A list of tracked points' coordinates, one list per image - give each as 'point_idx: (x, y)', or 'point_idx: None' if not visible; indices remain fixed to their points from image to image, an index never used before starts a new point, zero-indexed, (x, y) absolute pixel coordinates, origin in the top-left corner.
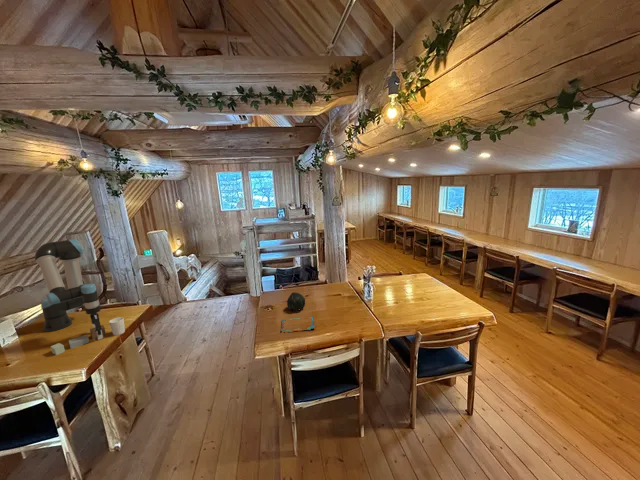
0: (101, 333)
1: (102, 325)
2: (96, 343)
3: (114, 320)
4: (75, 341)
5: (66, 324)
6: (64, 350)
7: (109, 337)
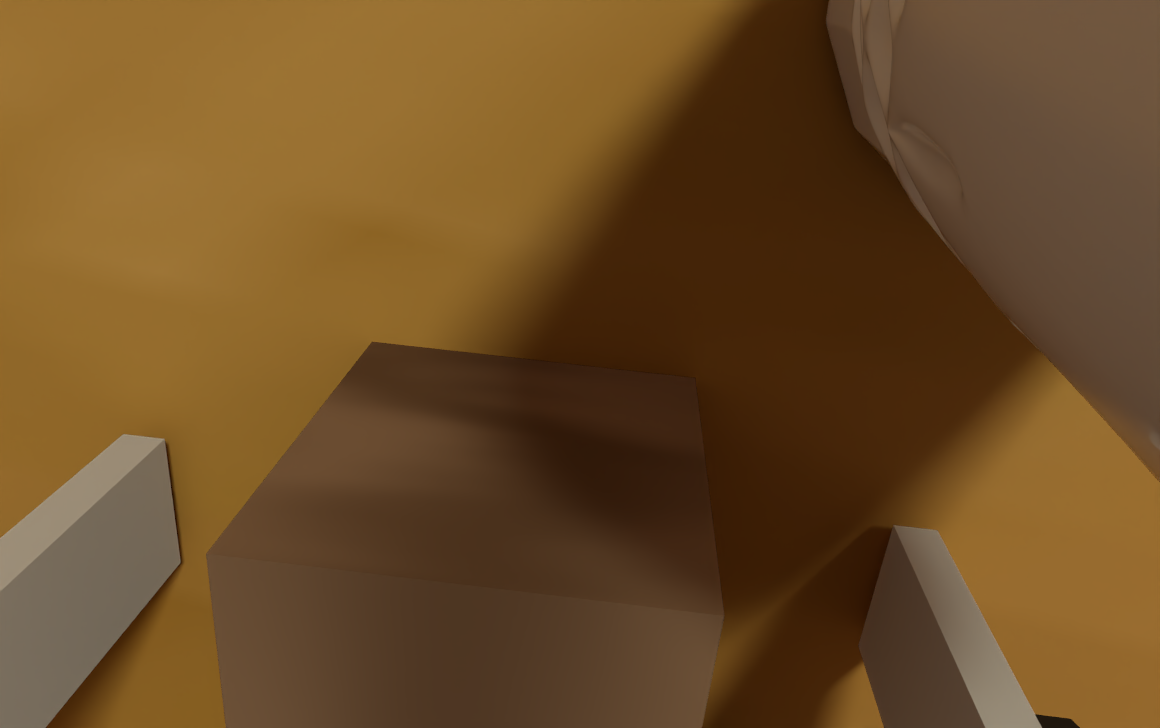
0: (1012, 707)
1: (313, 592)
2: (1075, 716)
3: (1135, 32)
4: None
5: None
6: None
7: None
